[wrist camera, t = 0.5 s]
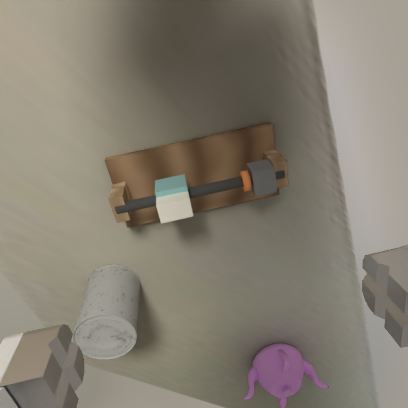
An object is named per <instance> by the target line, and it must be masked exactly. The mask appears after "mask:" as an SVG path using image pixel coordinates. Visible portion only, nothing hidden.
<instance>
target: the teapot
mask: <svg viewBox="0 0 408 408" xmlns="http://www.w3.org/2000/svg"><path fill="white" fill-rule="evenodd" d="M304 373H305V374H307V375H308V376H310V378H311V379H312V381H313V382H314V383H315V384H316V385H317V386H318V387H321V388H328V386H327V385H326V384H324V383H322V382H321V381H320V380H319V378H318V377H317V375H316V373H315V370H314V368H313V367H312V365H311V364H310V363H309V362H308V361H306V360H304V359H303V358H302V356H301V353H300V352H299V351H298V350H297V349H296V348H295V347H293V346H290V345H288V344H284V343H276V344H271V345H269V346H266V347H264V348H263V349H262V350H260V351H259V352H258V354H257V355H256V357H255V359H254V361H253V365H252V368H251V369H250V371H249V373H248V386H249V391H248V394H247V395H246V396H245V398H244V400H247V399H249V398H251V397H252V396H253V395H254V392H255V389H254V383H255V381H256V380H257V381H258V383H259V384H260V385H261V386H262V387H263V388H264V389H265V390H266V391H267V392H269V393H270V394H271V395H273V396H275V397H277V399H278V403H279V405H280V407H282V408H284V407H285V406H286V402H287V397H289V396H291V395H293V394H295V393H296V392H297V391H298V390H299V389H300V387H301V385H302V381H303V376H304Z"/></svg>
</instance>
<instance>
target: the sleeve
mask: <svg viewBox="0 0 408 408" xmlns="http://www.w3.org/2000/svg"><path fill="white" fill-rule="evenodd" d="M155 195H156V207H157V211H158V214H159V218H160V221H161V223H166V222H170V221H175V220H179V219H184V218H188V217H193V211H192V206H191V201H190V197H189V193H188V187H187V183H186V178H185V174H183V175H178V176H173V177H169V178H164V179H159V180H155Z"/></svg>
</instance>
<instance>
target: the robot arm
mask: <svg viewBox="0 0 408 408" xmlns="http://www.w3.org/2000/svg"><path fill="white" fill-rule="evenodd" d="M363 269H364V270H365V271H366V272H367V275H366V276H365V277H364V279H363V280H362V291H363V295H364V298H365V301H366V302H367V305H368V306H369V308H370V309H371V311H372V312H373V313H374V314H375V315H377V316H379V317H381V318H383V319H385V329H386V330H387V331H388V332H389V334H391V336H392V337H393V338H394V340H395V341H396V342H397V344H398V345H399V346H400V347H401V348H402V347H407V346H408V245H406V246H402V247H399V248H395V249H391V250H386V251H382V252H378V253H374V254H369V255H365V257H364V259H363ZM72 336H73V333H72V331H71V330H70V328H69V326H68V325H65V324H62V325H57V326H53V327H48V328H43V329H38V330H33V331H28V332H26V333H20V334H15V335H10V336H8V337H6V338H5V339H4V340H3V341H2V343H1V345H0V408H77V403H78V397H77V395H76V393H75V390H77V388H78V387H79V386H80V384H81V383H82V381H83V376H84V358H83V354H82V351H81V349H80V347H79V346H78V345H76V344H75V343H73V342H71V339H72Z"/></svg>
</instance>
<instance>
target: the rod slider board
mask: <svg viewBox="0 0 408 408" xmlns="http://www.w3.org/2000/svg"><path fill="white" fill-rule="evenodd" d="M265 159H268V161H269V162H270V163H271V164H272V165H273V166H274V167H275V172H278V171H282V170H284V172H285V178H282V179H277V180H276V186H277V192H275V193H270V194H265V195H261V196H256V197H255V195H254V193H253V192H252V190H249V191H245V192H244V191H243V188H242V187H241V188H236V189H232V190H227V191H223V192H218V193H213V194H209V195H204V196H199V197H195V198H190V201H191V206H192V211H193V213H196V212H201V211H205V210H210V209H214V208H219V207H223V206H228V205H233V204H237V203H242V202H246V201H251V200H256V199H260V198H265V197H269V196H274V195H278V194H279V187H284V186H288V172H287V160H286V159H285V158H284V157H283V156H281V155H280V154H279V153H278V152H277V151H276V150H275V140H274V128H273V124H272V123H268V124H263V125H258V126H253V127H249V128H244V129H239V130H235V131H230V132H225V133H221V134H216V135H211V136H206V137H202V138H197V139H192V140H188V141H183V142H178V143H173V144H169V145H164V146H159V147H155V148H150V149H145V150H141V151H136V152H131V153H126V154H122V155H117V156H112V157H108V158H106V159H105V162H106V165H107V168H108V171H109V174H110V177H111V180H112V183H113V186H112V189H111V192H110V196H109V202H110V205H111V208H112V211H113V214H114V216H115V219H116V222H117V223H119V222H123V221H125V222H126V225H127V227H132V226H136V225H141V224H146V223H150V222H155V221H159V220H160V218H159V214H158V211H157V207H156V206H153V207H149V208H144V209H140V210H135V211H130V212H125V213H121V214H117V213H116V210H115V207H116V206H121V205H125V201H129V200H134V199H139V198H143V197H148V196H152V195H155V180H159V179H164V178H169V177H173V176H178V175H183V174H185V178H186V183H187V187H188V188H189V187H194V186H199V185H203V184H208V183H213V182H217V181H222V180H226V179H231V178H236V177H240V172H241V171H245V170H247V165H246V163H251V162H255V161H260V160H265Z"/></svg>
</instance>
